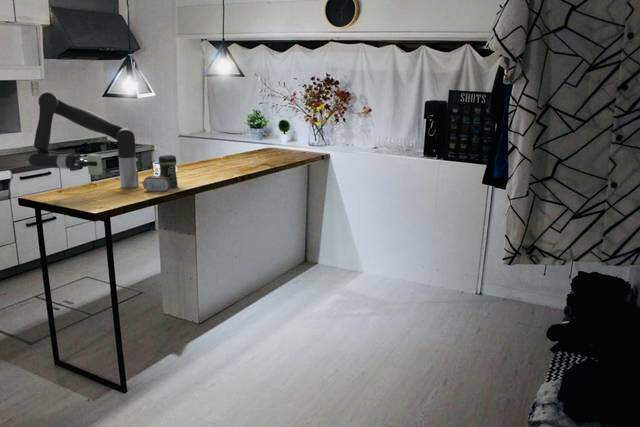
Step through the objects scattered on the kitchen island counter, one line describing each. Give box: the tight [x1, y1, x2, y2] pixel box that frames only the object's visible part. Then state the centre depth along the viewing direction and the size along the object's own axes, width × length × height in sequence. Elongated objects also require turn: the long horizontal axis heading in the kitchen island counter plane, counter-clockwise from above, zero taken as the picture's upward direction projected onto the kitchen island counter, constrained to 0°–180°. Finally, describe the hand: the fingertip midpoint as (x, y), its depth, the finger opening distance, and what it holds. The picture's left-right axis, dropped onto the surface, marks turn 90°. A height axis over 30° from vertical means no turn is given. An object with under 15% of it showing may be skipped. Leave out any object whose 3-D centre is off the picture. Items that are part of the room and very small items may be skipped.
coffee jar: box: [158, 154, 178, 189], centre depth 306 cm, size 10×8×19 cm
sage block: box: [86, 153, 103, 176], centre depth 278 cm, size 5×5×10 cm
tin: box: [142, 175, 171, 193], centre depth 296 cm, size 15×3×8 cm, turn 92°
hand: (99, 163), depth 278 cm, fingers closed on sage block, 5 cm apart
